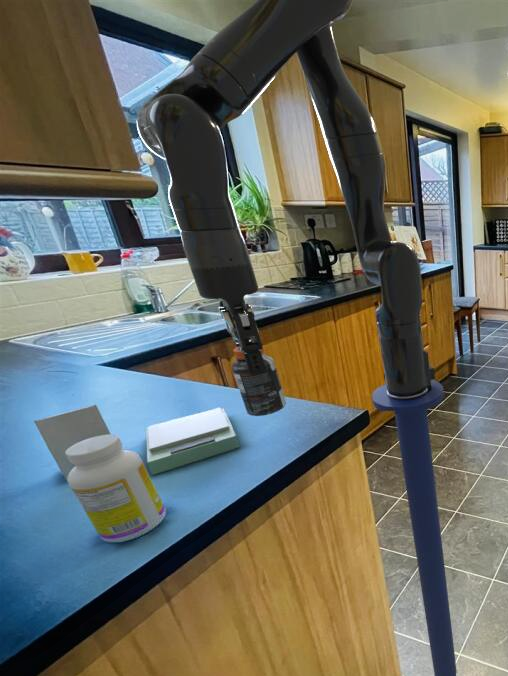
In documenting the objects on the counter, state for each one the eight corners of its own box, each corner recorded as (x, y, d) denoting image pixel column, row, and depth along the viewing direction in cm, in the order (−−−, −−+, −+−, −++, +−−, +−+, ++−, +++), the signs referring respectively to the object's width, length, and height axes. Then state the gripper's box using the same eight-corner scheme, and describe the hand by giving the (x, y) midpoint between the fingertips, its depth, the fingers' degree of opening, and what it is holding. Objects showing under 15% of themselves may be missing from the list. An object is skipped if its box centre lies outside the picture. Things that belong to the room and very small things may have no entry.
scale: (227, 418, 80) (223, 405, 79) (240, 447, 70) (235, 432, 69) (150, 440, 73) (144, 426, 72) (152, 475, 63) (145, 459, 62)
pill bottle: (293, 400, 71) (276, 340, 66) (274, 417, 66) (254, 352, 61) (260, 401, 71) (241, 340, 67) (239, 417, 66) (216, 353, 61)
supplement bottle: (140, 506, 57) (101, 427, 51) (180, 511, 56) (144, 431, 50) (87, 542, 51) (36, 457, 45) (130, 548, 50) (83, 462, 44)
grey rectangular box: (123, 461, 67) (98, 408, 63) (66, 481, 62) (34, 425, 58) (119, 453, 69) (94, 401, 65) (64, 472, 64) (33, 417, 60)
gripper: (260, 263, 56) (291, 374, 63) (241, 255, 66) (269, 352, 73) (194, 270, 51) (235, 388, 58) (185, 260, 61) (220, 362, 68)
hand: (254, 367), depth 65 cm, fingers closed on pill bottle, 6 cm apart
